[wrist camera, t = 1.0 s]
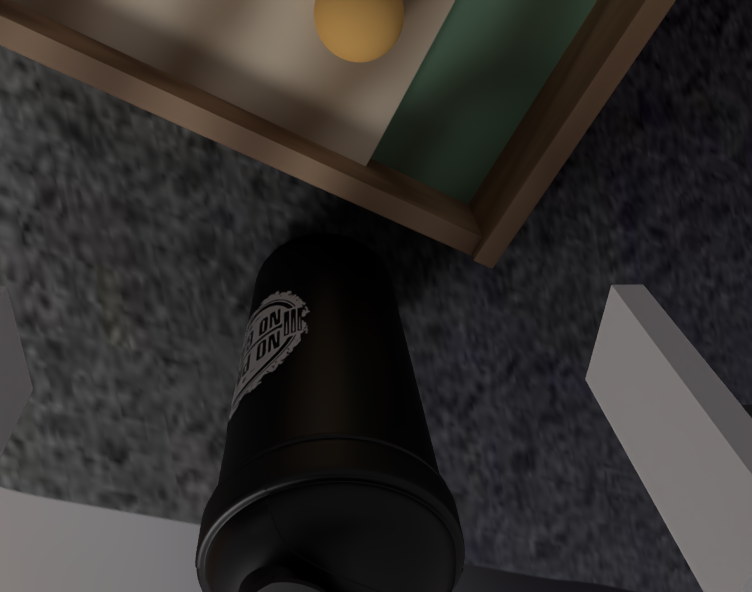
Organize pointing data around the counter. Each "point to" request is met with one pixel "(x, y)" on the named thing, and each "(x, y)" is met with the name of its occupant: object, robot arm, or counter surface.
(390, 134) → the lane
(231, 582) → the water bottle
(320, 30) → the ball
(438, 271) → the counter surface
